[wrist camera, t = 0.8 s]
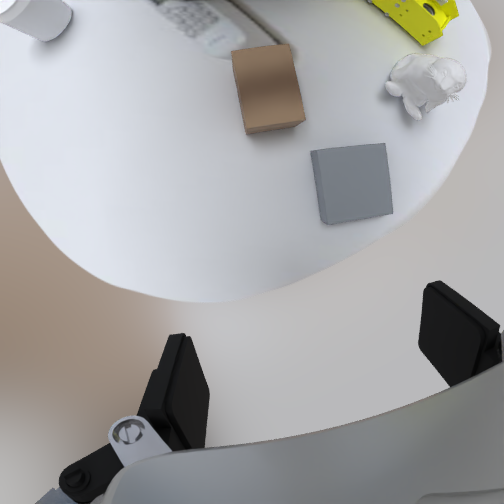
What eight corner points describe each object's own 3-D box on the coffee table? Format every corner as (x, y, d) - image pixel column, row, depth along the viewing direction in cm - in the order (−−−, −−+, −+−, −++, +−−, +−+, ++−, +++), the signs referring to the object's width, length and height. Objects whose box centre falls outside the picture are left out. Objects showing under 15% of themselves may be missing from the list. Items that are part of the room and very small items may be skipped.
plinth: (310, 151, 32) (316, 150, 29) (374, 144, 32) (385, 143, 29) (320, 219, 34) (327, 225, 32) (382, 209, 34) (393, 213, 31)
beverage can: (49, 8, 24) (4, -20, 12) (81, 4, 24) (37, -31, 13) (33, 44, 25) (-18, 23, 14) (64, 42, 26) (13, 14, 15)
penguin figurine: (436, 85, 30) (495, 70, 18) (405, 125, 31) (466, 118, 20) (403, 51, 28) (457, 22, 17) (370, 89, 30) (423, 64, 19)
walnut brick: (232, 69, 29) (231, 51, 24) (281, 62, 29) (288, 43, 23) (245, 134, 32) (246, 128, 26) (294, 126, 31) (305, 119, 26)
